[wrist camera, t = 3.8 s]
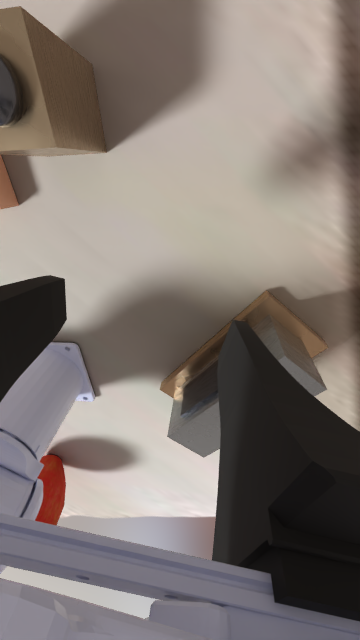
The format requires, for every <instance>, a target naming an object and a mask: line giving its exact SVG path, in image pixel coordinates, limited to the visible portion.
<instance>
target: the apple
mask: <svg viewBox="0 0 360 640" xmlns="http://www.w3.org/2000/svg"><path fill="white" fill-rule="evenodd" d="M40 463H42V464H44V467H43V469H42V470H41V472H40V474H39V476H38V477H37V478H38V479H40V480H42V482H43V500H42V504H41V507H40V510H39V512H38V515H37V517H36V519H35V521H38V522H43V523H47V524H52V525H57V522H58V520H59V517H60V515H61V512H62V510H63V507H64V500H65V487H66V482H65V474H64V468H63V464H62V461H61V459H60V458H59V457H58V456H56V455H46V456H43V457H42V458H41V460H40Z"/></svg>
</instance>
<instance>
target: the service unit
mask: <svg viewBox="0 0 360 640" xmlns="http://www.w3.org/2000/svg"><path fill="white" fill-rule="evenodd" d="M234 320H238V321H242V322H246V323H248V324H249V326H250V327H251V328H252V329H253V331H254V332H255V333H256V334H257V336H258V337H259V338H260V340H261V341H262V342H263V343H264V345H265V346H266V347H267V348H268V350H269V351H270V352H271V353H272V354H273V356H274V357H275V358H276V359H277V360H278V361H279V363H280V364H281V365H282V366H283V367H284V368H285V369H286V370H287V371H288V372H289V373H290V374H291V375H292V376H293V377H294V378H295V379H296V380H297V381H298V382H299V383H300V384H301V385H302V386H303V387H304V388H305V389H306V390H307V391H308V392H309V393H311V394H312V395H313V396H316V395H318V394H319V393H321V392H323V391H325V390H327V388H326V386H325V384H324V382H323V380H322V378H321V376H320V374H319V372H318V370H317V369H316V367H315V365H314V363H313V361H312V359H311V358H313V357H314V356H316V355H317V354H319V353H320V352H322V351H324V350H325V349H327V348H328V346H327V344H326V343H325V341H324V340H323V339H322V338H321V337H320V336H319V335H317V334H316V333H315V332H314V331H313V330H312V329H311V328H309V327H308V326H307V325H306V324H305V323H304V322H302V321H301V320H300V319H299V318H298V317H297V316H296V315H294V314H293V313H292V312H291V311H290V310H289V309H288V308H286V307H285V306H284V305H283V304H282V303H281V302H279V301H278V300H277V299H276V298H275V297H274V296H273V295H271V294H270V293H269V292H268V291H267V290H266V291H265V292H264V293H263V294H262V295H260V296H259V297H258V298H257V299H256V300H255V301H254V302H252V303H251V304H250V305H249V306H248V307H247V308H246V309H244V310H243V311H242V312H241V313H240V314H239V315H238V316H236V317H235V318H234ZM231 323H232V321H231V322H230V323H229V324H227V325H226V326H225V327H224V328H223V329H222V330H221V331H219V332H218V333H217V334H216V335H215V336H214V337H213V338H211V339H210V340H209V341H208V342H207V343H206V344H205V345H203V346H202V347H201V348H200V349H199V350H198V351H197V352H195V353H194V354H193V355H192V356H191V357H190V358H189V359H188V360H186V361H185V362H184V363H183V364H182V365H181V366H180V367H178V368H177V369H176V370H175V371H174V372H173V373H172V374H170V375H169V376H168V377H167V378H166V379H165V380H164V381H162V383H161V387H160V390H161V391H163V392H164V393H166V394H168V395H169V396H171V397H172V398H174V401H173V407H172V412H171V418H170V424H169V430H168V436H167V437H169V438H170V439H172V440H174V441H176V442H177V443H179V444H181V445H183V446H184V447H186V448H188V449H190V450H191V451H193V452H195V453H197V454H198V455H200V456H202V457H206V456H207V455H209V454H211V453H213V452H215V451H216V450H218V449H220V436H221V432H220V411H219V397H218V381H217V371H218V357H219V353H220V351H221V348H222V346H223V343H224V341H225V338H226V335H227V333H228V330H229V328H230V325H231Z"/></svg>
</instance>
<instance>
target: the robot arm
mask: <svg viewBox="0 0 360 640" xmlns="http://www.w3.org/2000/svg"><path fill="white" fill-rule="evenodd" d="M66 320H67V317H66V297H65V279H63V278H59V277H55V276H51V275H50V276H42V277H37V278H33V279H28V280H24V281H20V282H16V283H12V284H8V285H3V286H0V574H1V572H2V571H3V570H4V569H5V568H6V566H10V567H14V568H19V569H23V570H28V571H33V572H37V573H42V574H46V575H51V576H55V577H60V578H64V579H69V580H73V581H78V582H83V583H87V584H91V585H96V586H100V587H105V588H109V589H114V590H118V591H123V592H127V593H132V594H136V595H141V596H145V597H150V598H155V599H159V600H156V601H154V602H153V604H152V605H151V608H150V615H149V617H148V618H146V619H143V618H139V617H136V616H133V615H129V614H126V613H123V612H119V611H116V610H113V609H109V608H106V607H103V606H99V605H96V604H92V603H89V602H86V601H82V600H79V599H76V598H72V597H68V596H65V595H61V594H58V593H54V592H51V591H47V590H44V589H40V588H37V587H33V586H29V585H25V584H21V583H17V582H13V581H9V580H5V579H1V578H0V640H360V432H359V431H358V430H356V429H355V428H353V427H352V426H351V425H349V424H348V423H347V422H345V421H344V420H343V419H341V418H340V417H338V416H337V415H336V414H335V413H333V412H332V411H331V410H330V409H328V408H327V407H326V406H325V405H324V404H322V403H321V402H320V401H319V400H317V399H316V398H315V397H314V396H313V395H312V394H311V393H309V392H308V391H307V390H306V389H305V388H304V387H303V386H302V385H301V384H300V383H299V382H298V381H297V380H296V379H295V378H294V377H293V376H292V375H291V374H290V373H289V372H288V371H287V370H286V369H285V368H284V367H283V366H282V365H281V364H280V363H279V361H278V360H277V359H276V358H275V357H274V356H273V354H272V353H271V352H270V351H269V350H268V348H267V347H266V346H265V345H264V343H263V342H262V341H261V340H260V338H259V337H258V336H257V334H256V333H255V332H254V331H253V329H252V328H251V327H250V326H249V324H248V323H246V322H242V321H238V320H234V319H233V320H232V323H231V325H230V328H229V330H228V333H227V335H226V338H225V341H224V343H223V346H222V348H221V351H220V353H219V357H218V371H217V381H218V397H219V411H220V432H221V436H220V462H219V480H218V496H217V510H216V522H215V534H214V545H213V555H212V560H207V559H202V558H198V557H194V556H189V555H185V554H181V553H176V552H172V551H167V550H163V549H158V548H154V547H149V546H145V545H141V544H136V543H131V542H127V541H122V540H118V539H114V538H109V537H105V536H100V535H96V534H92V533H87V532H83V531H78V530H73V529H69V528H65V527H60V526H56V525H52V524H47V523H43V522H38V521H35V519H36V517H37V515H38V512H39V510H40V507H41V504H42V500H43V482H42V480H40V479H38V478H37V477H38V476H39V474H40V472H41V470H42V469H43V467H44V464H42V463H40V460H41V458H42V456H43V455H44V453H45V451H46V450H47V448H48V446H49V444H50V443H51V441H52V439H53V438H54V436H55V434H56V432H57V431H58V429H59V427H60V426H61V424H62V422H63V421H64V419H65V417H66V415H67V414H68V412H69V410H70V409H71V407H72V405H73V403H74V402H75V401H90V402H91V401H94V399H95V395H94V392H93V389H92V386H91V383H90V380H89V376H88V373H87V370H86V367H85V364H84V361H83V358H82V355H81V352H80V349H79V347H78V345H77V344H75V343H58V342H51V341H52V340H53V339H54V338H55V337H56V335H57V334H58V332H59V331H60V329H61V328H62V326H63V324H64V323H65V321H66ZM69 348H70V349H69ZM162 600H163V601H162Z"/></svg>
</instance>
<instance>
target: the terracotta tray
mask: <svg viewBox="0 0 360 640" xmlns="http://www.w3.org/2000/svg"><path fill="white" fill-rule="evenodd" d="M18 205H19V204H18V201H17V198H16V196H15V193H14V190H13V187H12V184H11V181H10V179H9V176H8V173H7V170H6V167H5V165H4V162H3V159H2V156H1V154H0V209H4V208H9V207H14V206H18Z"/></svg>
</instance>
